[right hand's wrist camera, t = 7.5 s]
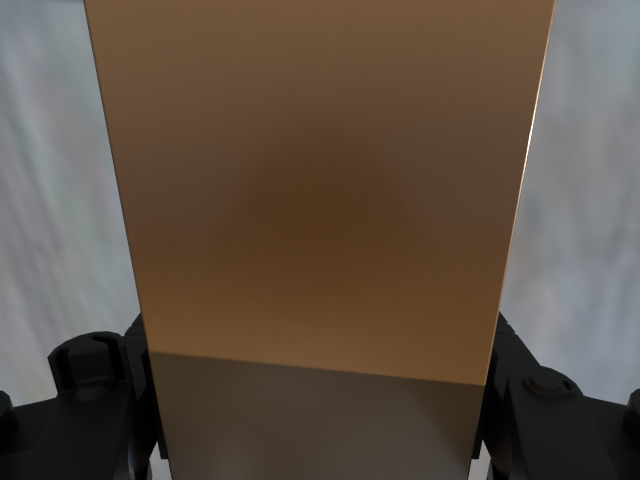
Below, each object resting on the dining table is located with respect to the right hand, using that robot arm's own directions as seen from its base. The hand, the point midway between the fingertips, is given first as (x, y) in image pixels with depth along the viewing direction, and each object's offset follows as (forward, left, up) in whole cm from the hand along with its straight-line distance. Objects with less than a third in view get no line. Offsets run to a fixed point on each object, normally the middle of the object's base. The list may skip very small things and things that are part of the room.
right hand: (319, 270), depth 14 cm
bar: (+5, +8, 0) cm, 9 cm away
